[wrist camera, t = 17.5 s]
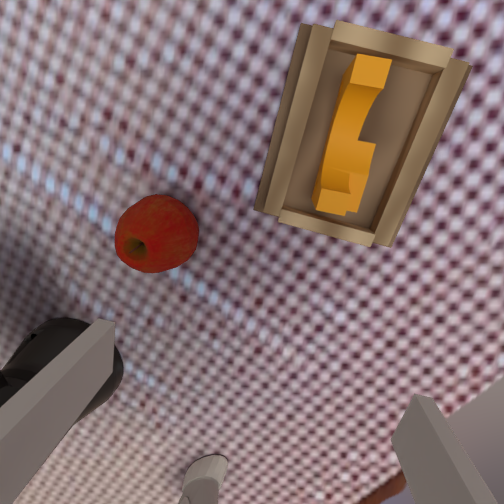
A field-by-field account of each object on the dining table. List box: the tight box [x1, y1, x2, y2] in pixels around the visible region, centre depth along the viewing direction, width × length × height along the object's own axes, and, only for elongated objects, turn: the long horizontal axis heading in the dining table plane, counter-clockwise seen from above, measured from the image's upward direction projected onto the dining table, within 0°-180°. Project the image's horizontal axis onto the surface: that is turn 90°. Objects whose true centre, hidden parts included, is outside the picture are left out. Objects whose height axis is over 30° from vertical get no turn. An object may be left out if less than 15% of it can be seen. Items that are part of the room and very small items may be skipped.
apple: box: [115, 194, 199, 273], centre depth 31 cm, size 8×8×11 cm
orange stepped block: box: [311, 53, 392, 216], centre depth 26 cm, size 12×4×6 cm, turn 169°
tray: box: [254, 20, 473, 248], centre depth 29 cm, size 16×18×3 cm
